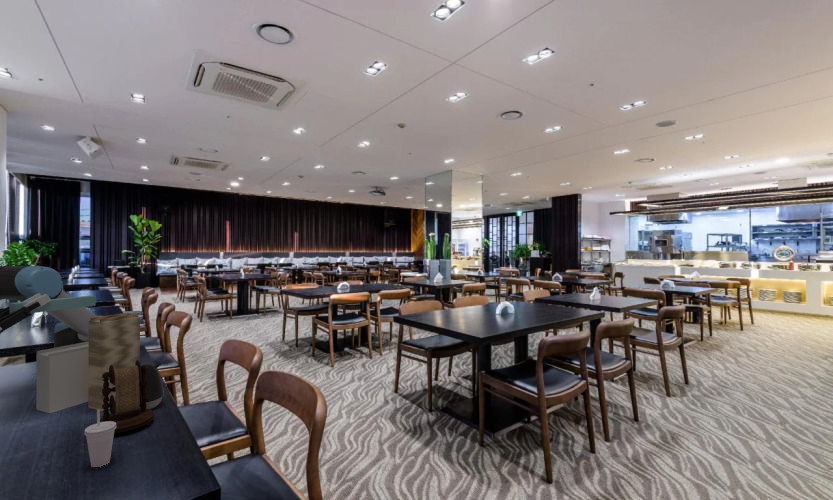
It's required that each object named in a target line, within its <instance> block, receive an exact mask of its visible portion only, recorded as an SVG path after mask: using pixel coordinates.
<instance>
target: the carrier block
mask: <svg viewBox="0 0 833 500" xmlns="http://www.w3.org/2000/svg"><path fill="white" fill-rule="evenodd" d="M88 363H89V342H83V343H78V344H73V345H67V346H62V347H57V348H54V347H52V348H48V349H41V350H36V386H35V387H36V394H35V395H36V396H35V397H36V399H35V401H36V403H35V404H36V406H35V408H36V410H37V411H40V412H43V413H48V414H52V413H55V412H59V411H62V410H64V409H68V408H71V407H74V406H78V405H81V404H84V403H88Z"/></svg>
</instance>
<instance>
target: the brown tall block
mask: <svg viewBox="0 0 833 500" xmlns="http://www.w3.org/2000/svg"><path fill="white" fill-rule="evenodd" d="M101 316H102V317H95V318H90V321H89V363H88V402H87V407H88V408H89V409H93V410H96V411H97V410H98V409H100V412H103V410H104V409H102V405H103V404H104V403H103V399H104V396H103V394H102V389H103V388H104V387H103V384H104V381H103V379H104V378H102V374H103V373H105V372H109V367H110V365H113V367H114V370H115V369H121V368H126V367H131V366H135V363H136V361H137V360H139V361H140V362H141V360H140V359H141V317H140V316H139V314H138V313H135V314H130V312H124V313H117V314H116V313H115V314H109V315H101ZM108 382H109V388H113V387H115V386H114V385H113V384H111V383H110V380H108ZM111 395H113V396H114V400H115V401H116V391H115V392H112V391H111V393H109V395H108V397H109V399H110V396H111ZM108 403H109V402H108ZM108 409H109V410H110V407H109V408H108Z"/></svg>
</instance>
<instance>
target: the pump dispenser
mask: <svg viewBox="0 0 833 500" xmlns="http://www.w3.org/2000/svg"><path fill="white" fill-rule="evenodd" d="M143 365H146V366H147V370H146V371H147V372H146V376H147V377H146V380H147V381H148V384H147V385H146V387H145V388H146V393H145V394H147V398H146V399H145V400H146V402H145V403H146V405H147V407H146V409H149V410H152V409H154V408H156V407H157V406H158V405H159V404H160V403H161V402H162V399H163V396H164V395H165V390H164V385H163V379H162V378H161V375H160V372H159V370H158V368H159V367H160V366H161V365H162V363H161V362H160V361H159V362H157V363H155V365H154V364H151V363H145V364H143ZM141 372H142V371H141ZM141 375H142V373H141ZM141 380H142V379H141V376H140V378H139V382H140V381H141ZM141 389H142V388H141V386H139V390H140V391H141ZM141 395H142V394H141ZM139 408H140V407H139Z"/></svg>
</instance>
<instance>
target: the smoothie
mask: <svg viewBox="0 0 833 500" xmlns="http://www.w3.org/2000/svg"><path fill="white" fill-rule="evenodd" d="M100 414H101V411H100V409H98V410H96V422H97V423H96V422H95V423H96V424H95V423H94V424H90V425H89V426H87V427H86V428H85V429H84V436H86V441H87V442H86V443H87V449H88V456H89V460H90V467H91V468H92V467H100V468H102V467H101V466H103V465H105V466H107V465H108V463H109V464H110V461H111V454H112V451H113V450H112V448H113V442H114V437H115V436H114V435H115V433H114V430H115V429H116V422H113V421H106V422H100V419H101V415H100ZM106 464H107V465H106ZM103 467H104V466H103Z"/></svg>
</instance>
